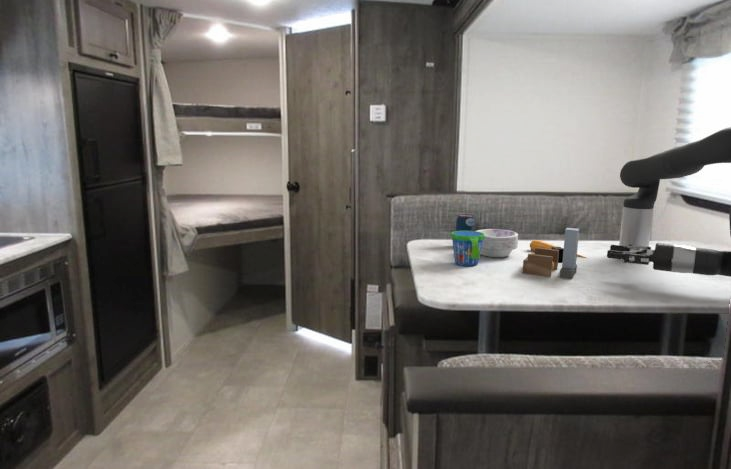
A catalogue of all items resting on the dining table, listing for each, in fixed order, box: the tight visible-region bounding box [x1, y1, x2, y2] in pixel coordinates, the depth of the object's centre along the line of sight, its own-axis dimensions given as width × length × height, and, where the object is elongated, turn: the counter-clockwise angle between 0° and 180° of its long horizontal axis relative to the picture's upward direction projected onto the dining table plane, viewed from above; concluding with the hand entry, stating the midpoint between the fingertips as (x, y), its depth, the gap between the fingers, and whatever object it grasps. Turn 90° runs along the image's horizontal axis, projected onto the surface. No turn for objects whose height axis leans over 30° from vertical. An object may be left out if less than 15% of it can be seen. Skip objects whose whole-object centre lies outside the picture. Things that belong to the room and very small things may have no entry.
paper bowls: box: [476, 228, 519, 258], centre depth 178 cm, size 15×15×8 cm
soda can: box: [455, 213, 476, 231], centre depth 189 cm, size 7×7×12 cm
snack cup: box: [450, 230, 485, 267], centre depth 164 cm, size 16×10×10 cm
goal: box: [522, 247, 559, 278], centre depth 157 cm, size 11×8×6 cm
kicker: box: [559, 227, 580, 280], centre depth 152 cm, size 9×3×14 cm, turn 150°
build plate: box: [551, 246, 564, 264], centre depth 172 cm, size 12×7×5 cm, turn 6°
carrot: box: [529, 239, 587, 259], centre depth 180 cm, size 20×4×4 cm, turn 54°
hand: (608, 251), depth 147 cm, fingers open, 8 cm apart
